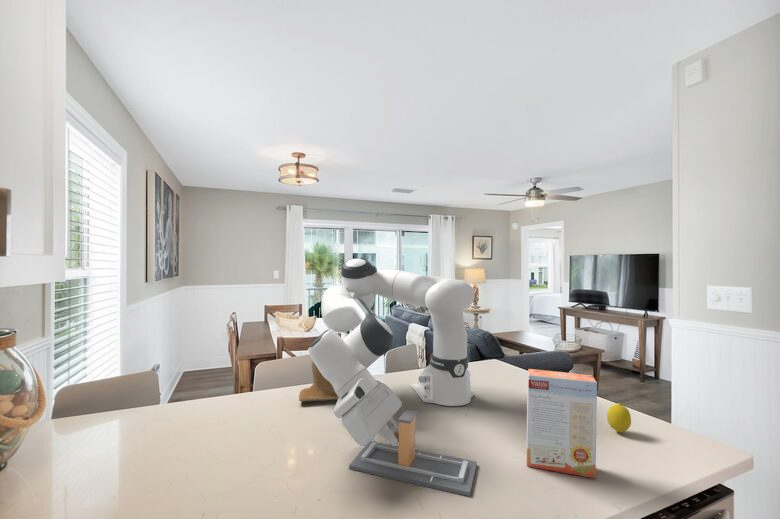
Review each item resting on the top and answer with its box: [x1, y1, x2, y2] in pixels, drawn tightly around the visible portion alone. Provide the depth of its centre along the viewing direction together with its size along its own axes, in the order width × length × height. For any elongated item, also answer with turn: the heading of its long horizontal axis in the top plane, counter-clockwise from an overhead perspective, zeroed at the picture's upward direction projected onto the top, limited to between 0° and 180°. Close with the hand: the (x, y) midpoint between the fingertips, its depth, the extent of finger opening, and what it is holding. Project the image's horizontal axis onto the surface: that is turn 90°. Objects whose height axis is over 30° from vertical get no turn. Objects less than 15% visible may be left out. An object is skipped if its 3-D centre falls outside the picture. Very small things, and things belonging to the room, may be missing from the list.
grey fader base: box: [348, 440, 478, 497], centre depth 85 cm, size 26×12×2 cm, turn 71°
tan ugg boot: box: [298, 359, 339, 402], centre depth 124 cm, size 15×12×15 cm
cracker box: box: [526, 368, 598, 479], centre depth 86 cm, size 14×6×21 cm, turn 71°
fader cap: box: [398, 409, 418, 467], centre depth 85 cm, size 3×5×10 cm, turn 161°
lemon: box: [606, 403, 632, 434], centre depth 104 cm, size 6×6×8 cm
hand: (397, 441), depth 85 cm, fingers closed, pressing on fader cap
